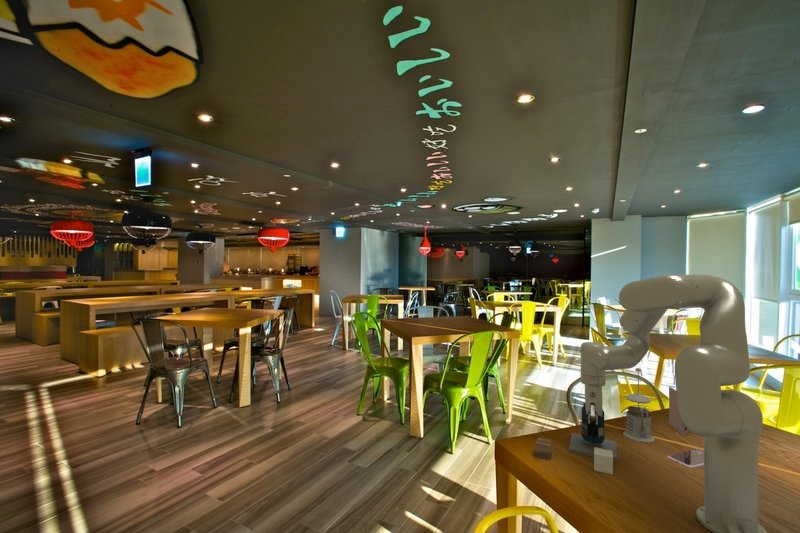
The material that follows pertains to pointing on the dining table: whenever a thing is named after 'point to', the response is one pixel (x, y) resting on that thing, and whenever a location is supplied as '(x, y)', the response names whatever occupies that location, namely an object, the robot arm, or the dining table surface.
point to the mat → (590, 446)
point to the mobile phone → (689, 458)
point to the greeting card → (675, 413)
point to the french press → (638, 418)
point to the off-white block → (603, 460)
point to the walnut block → (544, 448)
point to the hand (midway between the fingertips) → (593, 431)
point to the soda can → (585, 428)
